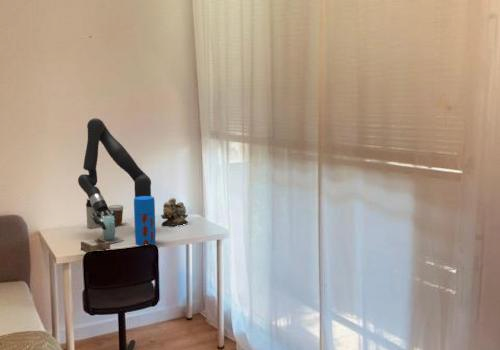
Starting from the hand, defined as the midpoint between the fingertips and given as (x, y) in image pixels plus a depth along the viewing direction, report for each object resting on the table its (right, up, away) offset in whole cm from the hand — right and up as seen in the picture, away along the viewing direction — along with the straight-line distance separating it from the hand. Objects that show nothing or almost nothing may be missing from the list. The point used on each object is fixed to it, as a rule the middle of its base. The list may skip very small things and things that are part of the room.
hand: (110, 227), depth 263 cm
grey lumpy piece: (+29, -3, +40) cm, 49 cm away
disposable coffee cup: (-7, -3, +39) cm, 39 cm away
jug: (0, -6, +1) cm, 6 cm away
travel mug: (-20, -3, +34) cm, 40 cm away
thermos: (+19, -8, -1) cm, 21 cm away
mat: (-1, -8, +2) cm, 8 cm away
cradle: (-4, -10, -13) cm, 17 cm away
